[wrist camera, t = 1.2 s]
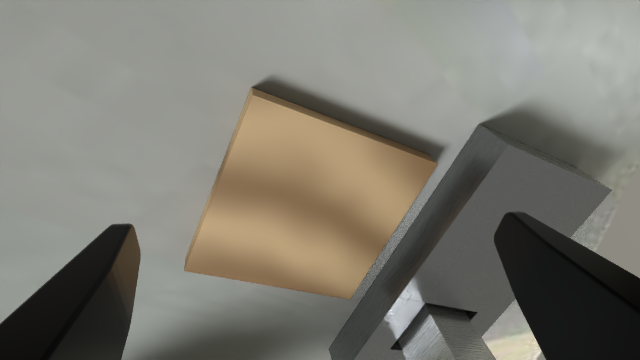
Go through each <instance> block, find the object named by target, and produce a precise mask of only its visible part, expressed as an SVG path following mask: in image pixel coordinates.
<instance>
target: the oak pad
mask: <svg viewBox="0 0 640 360" xmlns="http://www.w3.org/2000/svg"><path fill="white" fill-rule="evenodd" d="M437 165H438V163H437V162H436V161H435V160H434V159H433V158H432V157H431V156H430V155H428V154H426V153H423V152H420V151H418V150H415V149H412V148H410V147H407V146H405V145H402V144H399V143H397V142H394V141H391V140H389V139H386V138H383V137H381V136H378V135H376V134H373V133H370V132H368V131H365V130H362V129H360V128H357V127H355V126H352V125H349V124H347V123H344V122H341V121H339V120H336V119H333V118H331V117H328V116H326V115H323V114H320V113H318V112H315V111H312V110H310V109H307V108H304V107H302V106H299V105H297V104H294V103H291V102H289V101H286V100H283V99H281V98H278V97H276V96H273V95H270V94H268V93H265V92H262V91H260V90H257V89H254V88H252V87H251V90H250V92H249V95H248V98H247V100H246V103H245V105H244V108H243V111H242V113H241V116H240V118H239V121H238V123H237V126H236V129H235V131H234V134H233V136H232V139H231V142H230V144H229V147H228V149H227V152H226V155H225V157H224V160H223V162H222V165H221V167H220V170H219V173H218V175H217V178H216V180H215V183H214V186H213V188H212V191H211V193H210V196H209V199H208V201H207V204H206V206H205V209H204V212H203V214H202V217H201V219H200V222H199V224H198V227H197V230H196V232H195V235H194V237H193V240H192V243H191V245H190V248H189V250H188V253H187V256H186V259H185V268H184V271H188V272H193V273H199V274H205V275H211V276H217V277H222V278H228V279H234V280H240V281H246V282H251V283H257V284H263V285H269V286H275V287H280V288H286V289H292V290H298V291H304V292H310V293H315V294H321V295H327V296H333V297H339V298H344V299H351V297H352V295H353V294H354V292H355V291H356V289H357V288H358V286H359V285H360V283H361V282H362V280H363V279H364V277H365V275H366V274H367V272H368V271H369V269H370V268H371V266H372V265H373V263H374V262H375V260H376V259H377V257H378V255H379V254H380V252H381V251H382V249H383V248H384V246H385V245H386V243H387V242H388V240H389V239H390V237H391V235H392V234H393V232H394V231H395V229H396V228H397V226H398V225H399V223H400V222H401V220H402V219H403V217H404V215H405V214H406V212H407V211H408V209H409V208H410V206H411V205H412V203H413V202H414V200H415V199H416V197H417V195H418V194H419V192H420V191H421V189H422V188H423V186H424V185H425V183H426V182H427V180H428V179H429V177H430V175H431V174H432V172H433V171H434V169H435V168H436V166H437Z"/></svg>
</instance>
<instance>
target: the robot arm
mask: <svg viewBox="0 0 640 360" xmlns="http://www.w3.org/2000/svg"><path fill="white" fill-rule="evenodd" d="M494 244H495V247H496V249H497V252H498V255H499V257H500V260H501V263H502V265H503V268H504V270H505V273H506V276H507V278H508V281H509V284H510V286H511V289H512V291H513V294H514V296H515V298H516V300H517V302H518V304H519V306H520V308H521V310H522V312H523V314H524V316H525V318H526V320H527V322H528V324H529V326H530V328H531V330H532V332H533V334H534V336H535V338H536V340H537V342H538V344H539V346H540V348H541V350H542V352H543V354H544V356H545V358H546V360H640V278H638V277H637V276H635V275H633V274H631V273H630V272H628V271H626V270H624V269H623V268H621V267H619V266H618V265H616V264H614V263H612V262H611V261H609V260H607V259H605V258H603V257H602V256H600V255H598V254H597V253H595V252H593V251H591V250H590V249H588V248H586V247H584V246H583V245H581V244H579V243H577V242H576V241H574V240H572V239H570V238H569V237H567V236H565V235H563V234H562V233H560V232H558V231H556V230H555V229H553V228H551V227H549V226H548V225H546V224H544V223H542V222H541V221H539V220H537V219H535V218H534V217H532V216H530V215H528V214H527V213H525V212H521V211H516V212H507V213H506V214H504V216H503V218H502V220H501V222H500V224H499V226H498V228H497V230H496V231H495V234H494ZM139 265H140V248H139V244H138V240H137V236H136V232H135V228H134V226H133V225H132V224H113V225H111V226H109V227H108V228H107V229H106V230H104V231H103V232H102V233H101V234H100V235H99V236H98V237H97V238H96V239H94V240H93V241H92V242H91V243H90V244H89V245H88V246H87V247H85V248H84V249H83V250H82V251H81V252H80V253H79V254H78V255H77V256H75V257H74V258H73V259H72V260H71V261H70V262H69V263H68V264H66V265H65V266H64V267H63V268H62V269H61V270H60V271H59V272H58V273H56V274H55V275H54V276H53V277H52V278H51V279H50V280H49V281H47V282H46V283H45V284H44V285H43V286H42V287H41V288H40V289H38V290H37V291H36V292H35V293H34V294H33V295H32V296H31V297H30V298H28V299H27V300H26V301H25V302H24V303H23V304H22V305H21V306H19V307H18V308H17V309H16V310H15V311H14V312H13V313H12V314H11V315H9V316H8V317H7V318H6V319H5V320H4V321H3V322H2V323H0V360H121V358H122V354H123V350H124V347H125V343H126V340H127V336H128V332H129V328H130V324H131V318H132V312H133V305H134V298H135V292H136V285H137V278H138V272H139Z"/></svg>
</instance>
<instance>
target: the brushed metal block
mask: <svg viewBox="0 0 640 360" xmlns="http://www.w3.org/2000/svg"><path fill="white" fill-rule="evenodd" d="M397 340H398V342H399V344H400V346H401V349H402V351H403V353H404V355H405V358H406V360H496V359H495V357H494V356H493V354H492V353H491V351H490V350H489V348H488V347H487V345H486V344H485V342H484V340H483V339H482V337H481V336H480V334H479V333H478V331H477V330H476V328H475V327H474V325H473V324H472V322H471V321H470V319H469V318H468V316H467V315H466V313H465V312H464V310H463V309H458V308H452V307H447V306H442V305H436V304H431V303H425V304H424V305H423V307H422V308H421V309H420V310H419V312H418V313H417V314H416V316H415V317H414V318H413V320H412V321H411V322H410V324H409V325H408V326H407V327H406V329H405V330H404V331H403V333H402V334H401V335H400V337H399V338H398V339H397Z"/></svg>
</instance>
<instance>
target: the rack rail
mask: <svg viewBox="0 0 640 360" xmlns="http://www.w3.org/2000/svg"><path fill="white" fill-rule="evenodd" d="M611 191H612V190H611V189H609V188H608V187H606V186H605V185H603V184H602V183H600V182H598V181H597V180H595V179H594V178H592V177H590V176H589V175H587V174H586V173H584V172H583V171H581V170H579V169H578V168H576V167H573V166H571V165H569V164H567V163H565V162H562V161H560V160H558V159H556V158H553V157H551V156H549V155H547V154H544V153H542V152H540V151H538V150H536V149H533V148H531V147H529V146H527V145H524V144H522V143H520V142H518V141H516V140H513V139H511V138H509V137H507V136H504V135H502V134H500V133H498V132H496V131H493V130H491V129H489V128H487V127H484V126H482V125H480V124H479V125H478V127H477V128H476V130H475V131H474V132H473V134H472V135H471V137H470V138H469V140H468V141H467V143H466V144H465V146H464V147H463V149H462V150H461V152H460V153H459V155H458V156H457V158H456V159H455V161H454V162H453V164H452V165H451V167H450V168H449V170H448V171H447V173H446V174H445V176H444V177H443V179H442V180H441V182H440V183H439V185H438V186H437V188H436V189H435V191H434V192H433V194H432V195H431V197H430V198H429V200H428V201H427V203H426V204H425V206H424V207H423V209H422V210H421V212H420V213H419V215H418V216H417V218H416V219H415V221H414V222H413V224H412V225H411V227H410V228H409V230H408V231H407V233H406V234H405V236H404V237H403V239H402V240H401V242H400V243H399V245H398V246H397V248H396V249H395V251H394V252H393V254H392V255H391V257H390V258H389V260H388V261H387V263H386V264H385V266H384V267H383V269H382V270H381V272H380V273H379V275H378V276H377V278H376V279H375V281H374V282H373V284H372V285H371V287H370V288H369V290H368V291H367V293H366V294H365V296H364V297H363V299H362V300H361V302H360V303H359V305H358V306H357V308H356V309H355V311H354V312H353V314H352V315H351V317H350V318H349V320H348V321H347V323H346V324H345V326H344V327H343V329H342V330H341V332H340V333H339V335H338V336H337V338H336V339H335V341H334V342H333V344H332V345H331V347H330V348H329V351H330V355H331V359H332V360H406V358H405V355H404V353H403V351H402V349H401V346H400V344H399V342H398V340H397V339H398V338H399V337H400V335H401V334H402V333H403V331H404V330H405V329H406V327H407V326H408V325H409V324H410V322H411V321H412V320H413V318H414V317H415V316H416V314H417V313H418V312H419V310H420V309H421V308H422V307H423V305H424V304H425V303H431V304H436V305H442V306H447V307H452V308H458V309H463V310H464V312H465V313H466V315H467V316H468V318H469V319H470V321H471V322H472V324H473V325H474V327H475V328H476V330H477V331H478V333H479V334H480V336H481V337H482V336H483V334H484V333H485V332H486V331H487V330H488V329H489V328H490V327H491V325H492V324H493V323H494V322H495V321H496V320H497V319H498V318H499V317H500V315H501V314H502V313H503V312H504V311H505V310H506V309H507V308H508V306H509V305H510V304H511V303H512V302H513V301H514V300H515V299H516V298H515V296H514V294H513V291H512V289H511V286H510V284H509V281H508V278H507V276H506V273H505V270H504V268H503V265H502V263H501V260H500V257H499V255H498V252H497V249H496V247H495V244H494V234H495V231H496V230H497V228H498V226H499V224H500V222H501V220H502V218H503V216H504V214H506V213H507V212H516V211H521V212H525V213H527V214H528V215H530V216H532V217H534V218H535V219H537V220H539V221H541V222H542V223H544V224H546V225H548V226H549V227H551V228H553V229H555V230H556V231H558V232H560V233H562V234H563V235H565V236H567V237H569V238H570V237H571V236H572V235H573V234H574V232H575V231H576V230H577V229H578V228H579V227H580V226H581V225H582V223H583V222H584V221H585V220H586V219H587V218H588V217H589V216H590V214H591V213H592V212H593V211H594V210H595V209H596V208H597V207H598V205H599V204H600V203H601V202H602V201H603V200H604V199H605V198H606V196H607V195H608V194H609V193H610V192H611Z"/></svg>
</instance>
